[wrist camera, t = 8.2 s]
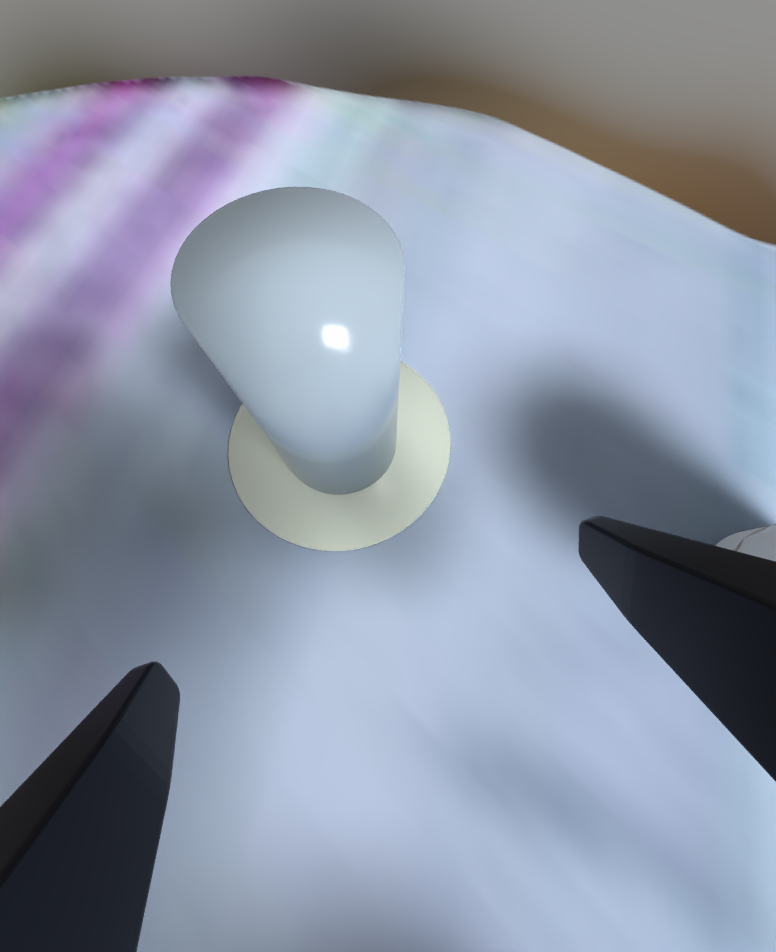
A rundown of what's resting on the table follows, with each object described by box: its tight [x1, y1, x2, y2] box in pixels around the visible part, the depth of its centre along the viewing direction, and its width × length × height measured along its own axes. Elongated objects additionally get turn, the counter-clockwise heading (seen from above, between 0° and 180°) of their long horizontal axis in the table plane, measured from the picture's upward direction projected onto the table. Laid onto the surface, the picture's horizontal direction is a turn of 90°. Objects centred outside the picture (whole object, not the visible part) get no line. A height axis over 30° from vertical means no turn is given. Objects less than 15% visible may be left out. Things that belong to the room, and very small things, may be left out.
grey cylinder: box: [171, 187, 405, 495], centre depth 13 cm, size 6×6×10 cm
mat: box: [228, 361, 451, 551], centre depth 18 cm, size 11×11×1 cm
